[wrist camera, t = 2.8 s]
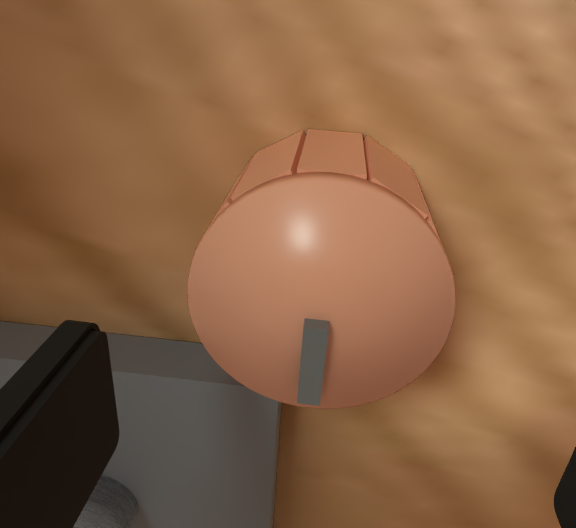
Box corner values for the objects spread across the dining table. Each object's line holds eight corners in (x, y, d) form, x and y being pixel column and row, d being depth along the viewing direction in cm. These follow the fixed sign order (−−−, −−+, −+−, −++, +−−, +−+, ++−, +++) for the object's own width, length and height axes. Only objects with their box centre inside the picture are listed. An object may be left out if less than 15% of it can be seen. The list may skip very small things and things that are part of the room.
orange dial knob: (225, 122, 15) (176, 174, 10) (447, 140, 14) (490, 203, 10) (225, 305, 18) (187, 404, 13) (408, 324, 17) (429, 433, 13)
